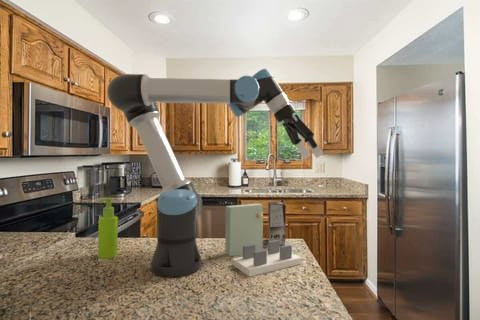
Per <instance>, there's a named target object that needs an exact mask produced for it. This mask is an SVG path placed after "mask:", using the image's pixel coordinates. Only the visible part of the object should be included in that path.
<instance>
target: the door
mask: <svg viewBox="0 0 480 320" xmlns="http://www.w3.org/2000/svg"><path fill="white" fill-rule="evenodd" d="M224 233H225V238H224V239H225V241H224V242H225V249H224V251H225V252H224V253H225V255H227V256H229V257H234V256H239V255H240V256H241V255H243V246H245V245H250V244H254V245H255V251H259V250H264V245H263V244H264V243H263V242H264V204H262V203H258V202H257V203H248V204H236V205H235V204H234V205H226V206H225V232H224Z"/></svg>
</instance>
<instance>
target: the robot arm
mask: <svg viewBox="0 0 480 320" xmlns="http://www.w3.org/2000/svg"><path fill="white" fill-rule="evenodd" d="M106 93H107V98H108V101H110V104H112V106H113V107H115V108H116V109H118V110H120V111H121V112H123V114H124V117H125V119H126V121H127V124H128V125H129V127H132V128H134V129H136V132H137V134H138V136H139V139H140V141H141V144H142V145H143V148H144V149H145V152H146V154H147V156H148V159H149V161H150V163H151V166H152V167H153V169H154V172H155V174H156V176H157V178H158V180H159V183H160V185H161V187H162V191H161V193H160V194H159V195H158V198H157V203H156V204H157V205H156V207H157V226H156V227H157V229H156V231H157V233H156V235H157V237H156V239H157V241H156V242H157V243H156V245H155V249H154V251H153V255H152V258H151V261H150V271H151V273H152V274H154V275H156V276H160V277H165V278H175V277H176V278H177V277H183V276H188V275H191V274H194V273H196V272H198V271H199V270H200V269H201V267H202V257H201V253H200V250H199V247H198V244H197V240H196V239H197V237H196V236H197V218H199V216H200V214H201V212H202V209H203V200H202V197H201V195H200V194H199V193H198V192H197V191H196V189H195V187H194V185H193V183H192V181H191V180H189V179H188V178H185V175H184V172H183V171H182V169H181V166H180V164H179V161H178V160H177V158H176V154H175V153H174V150H173V149H172V146H171V144H170V142H169V140H168V137H167V135H166V133H165V131H164V128H163V127H162V124H161V122H160V119H159V118H160V116H161V112H160V110H159V107H158V104H159V103H160V104H227V105H228V107H229V109H230V110H231V112H232V113H233V114H234V116H235V117H236V118H237V117H238V118H239V117H240V116H243V115H245V114H247V113H248V112H249V111H250V110H252V109H254V108H255V107H256V106H257V105H260V104H261V103H262V102H264V103H265V104H266V106H267V107H268V109H269V112H271V114H273V117H274V118H275V119H276V121H277V122H278V123H281V122H282V121H283V123H282V126H283V128H284V129H285V131H286V133H287V135H288V137H289V140H290V142H291V144H292V145H294V146H295V147H296V149H297V150H298V152H299V153H300V155H301V156H302V158H303V159H304V160H305V159H307V158H308V157H310V156H311V153H310V152H309V150H310V151H311V152H312V154H313V155H314V157H315V158H316V159H317V158H319V157H320V156H322V155H324V152H323V150H322V149H321V147H320V146H319V144H318V143H317V142H316V139H314V136H315V134H314V132H313V131H312V130H311V129H310V128H309V127H308V126H307V124H306V123H304V122H303V121H302V119H301V118H300V117H299V115H298V114H297V113H296V109H295V107H294V106H293V104H292V103H289V102H290V100H289V99H288V95H287V94H285V92H284V91H283V89H282V88H281V86H280V85H279V83H278V82H277V80H276V79H275V76H274V75H273V74H272V72H270V70H269V69H267V68H262V69H260V70H259V71H257V72H256V73H255V74H253V75H252V76H251V75H243V76H241V77H238V78H237V79H231V78H230V79H227V78H226V79H224V78H223V79H222V78H221V79H220V78H219V79H218V78H217V79H215V78H172V77H171V78H170V77H169V78H168V77H167V78H166V77H150V76H149V75H148V74H145V73H144V74H142V73H141V74H140V73H127V74H125V73H124V74H121V75H117V76H115V77H114V78H112V79H111V80H110V82H109V83H108V86H107V91H106ZM294 113H296V114H294ZM293 114H294V115H293ZM299 135H300V136H301V138H303V139H304V143H306V145H307V146H308V148H309V150H308V148H307V147H306V146H305V144H304V143H303V141H302V140H303V139H301V138H300V136H299Z"/></svg>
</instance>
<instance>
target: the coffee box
mask: <svg viewBox="0 0 480 320" xmlns="http://www.w3.org/2000/svg"><path fill="white" fill-rule="evenodd" d="M267 203H268V204H267V205H268V207H267V210H268V211H267V239H269V240H268V241H273V240H279V246H285V245H286V216H287V215H286V210H287V209H286V207H287V206H286V203H284V202H283V201H267Z"/></svg>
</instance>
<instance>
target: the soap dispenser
mask: <svg viewBox="0 0 480 320" xmlns="http://www.w3.org/2000/svg"><path fill="white" fill-rule="evenodd" d="M114 200H115V198H114V197H103V198H100V199H97V200H96V202H99V203H102V202H105V206H104V207H102V208H103V209H102V217H99V218H98V242H97V243H98V245H97V247H98V249H97V251H98V256H97V257H98V258H99V259H102V260H103V259H104V260H107V259H113V258H114V257H117V256H118V231H119V229H118V227H119V226H118V225H119V217H118V216H116V215H115V207H113V206H112V201H114Z"/></svg>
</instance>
